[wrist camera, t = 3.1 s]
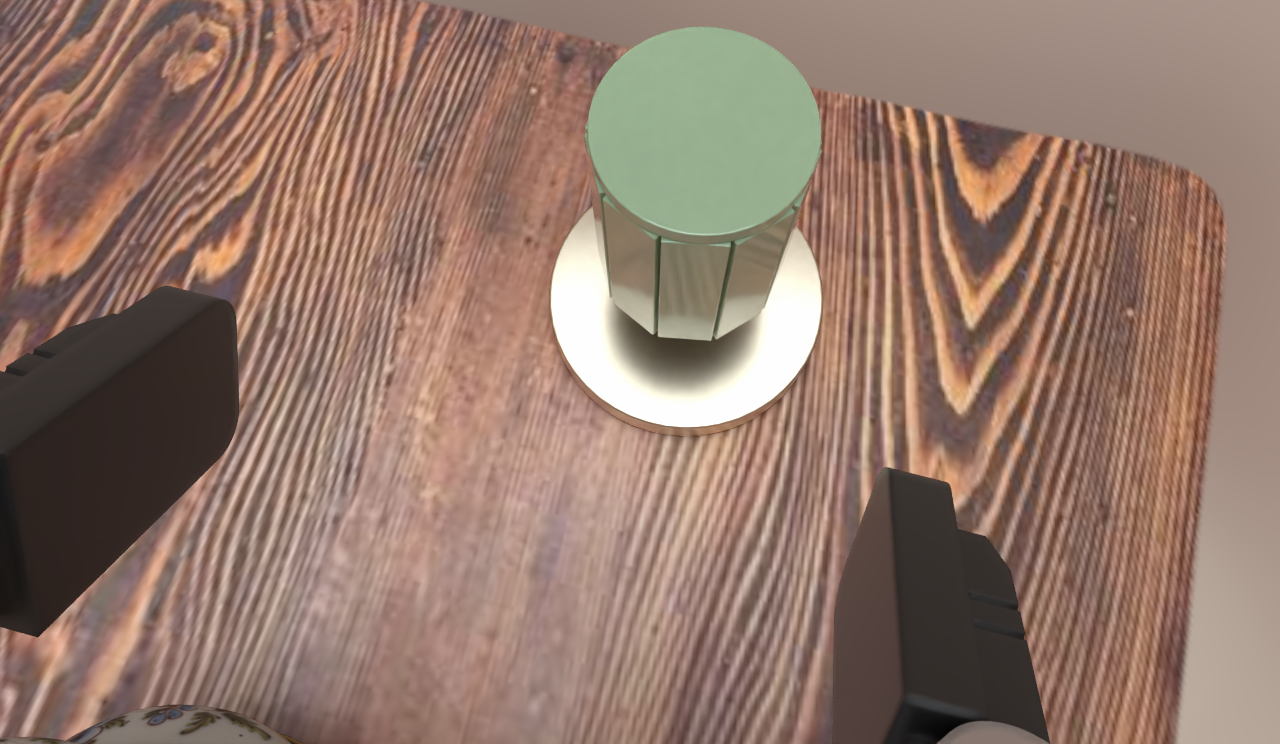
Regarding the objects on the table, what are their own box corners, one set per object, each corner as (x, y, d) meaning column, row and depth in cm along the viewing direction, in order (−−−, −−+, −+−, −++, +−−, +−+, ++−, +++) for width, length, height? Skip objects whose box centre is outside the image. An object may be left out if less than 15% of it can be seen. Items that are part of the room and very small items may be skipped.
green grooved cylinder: (751, 155, 37) (783, 1, 28) (801, 319, 35) (852, 210, 26) (583, 192, 36) (563, 48, 28) (625, 360, 34) (617, 264, 26)
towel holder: (776, 162, 43) (835, -63, 29) (850, 401, 40) (954, 273, 26) (528, 217, 42) (471, 13, 29) (584, 464, 39) (551, 367, 26)
